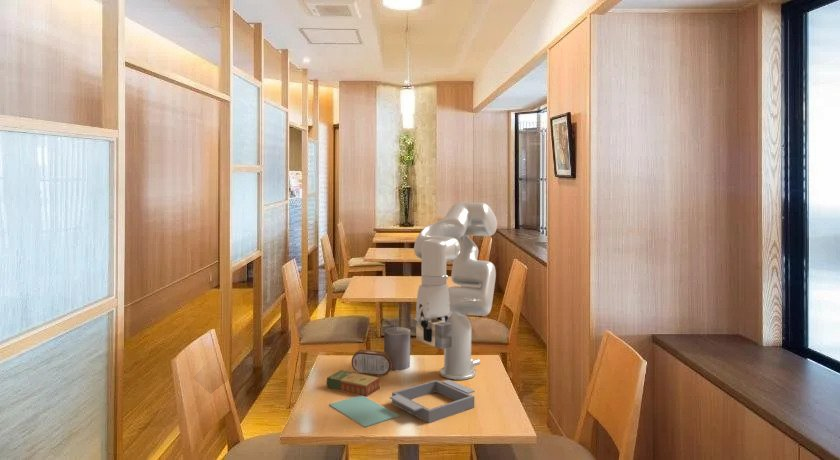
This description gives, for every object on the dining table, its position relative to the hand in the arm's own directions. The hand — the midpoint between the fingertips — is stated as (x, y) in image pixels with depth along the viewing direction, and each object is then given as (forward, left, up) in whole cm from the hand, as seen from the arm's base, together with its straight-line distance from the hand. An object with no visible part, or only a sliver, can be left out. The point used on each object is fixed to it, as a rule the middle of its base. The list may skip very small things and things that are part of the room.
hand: (433, 338), depth 174 cm
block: (0, 0, -1) cm, 1 cm away
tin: (-1, -35, -21) cm, 41 cm away
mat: (+19, -10, -21) cm, 30 cm away
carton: (+12, -27, -21) cm, 37 cm away
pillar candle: (-13, -36, -21) cm, 44 cm away
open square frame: (0, 0, -21) cm, 21 cm away
